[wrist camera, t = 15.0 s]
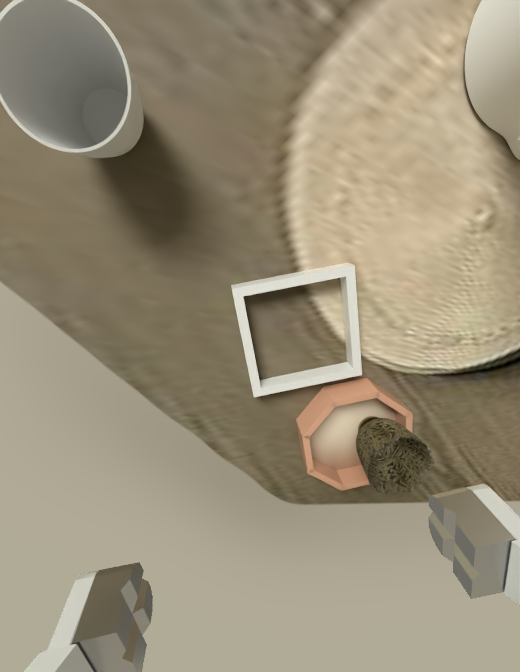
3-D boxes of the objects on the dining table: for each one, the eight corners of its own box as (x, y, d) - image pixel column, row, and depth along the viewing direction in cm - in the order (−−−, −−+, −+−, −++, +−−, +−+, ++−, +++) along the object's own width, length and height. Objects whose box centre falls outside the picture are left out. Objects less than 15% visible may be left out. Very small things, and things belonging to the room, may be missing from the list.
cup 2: (374, 457, 45) (405, 504, 37) (330, 437, 43) (354, 482, 36) (407, 414, 43) (447, 454, 36) (363, 391, 41) (395, 429, 34)
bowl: (397, 371, 42) (412, 384, 39) (399, 456, 47) (412, 474, 43) (291, 393, 41) (298, 408, 38) (305, 477, 46) (311, 497, 43)
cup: (111, 42, 28) (55, -45, 18) (177, 132, 30) (158, 96, 21) (42, 108, 29) (-44, 57, 19) (112, 190, 31) (67, 179, 22)
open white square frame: (347, 262, 36) (354, 265, 34) (355, 367, 41) (361, 374, 39) (231, 285, 36) (231, 288, 34) (252, 389, 40) (253, 397, 39)
